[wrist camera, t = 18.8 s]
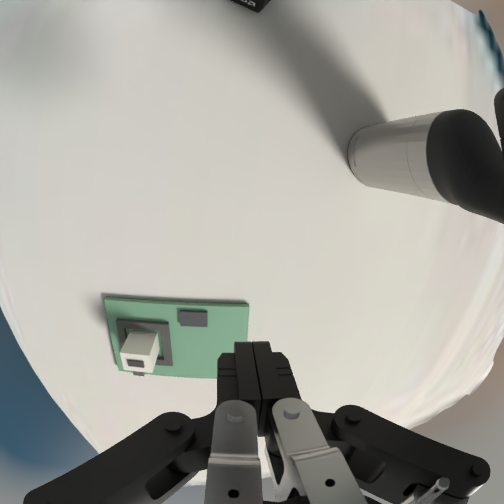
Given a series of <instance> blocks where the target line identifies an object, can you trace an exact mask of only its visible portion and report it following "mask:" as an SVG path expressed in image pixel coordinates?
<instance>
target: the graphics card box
mask: <svg viewBox="0 0 504 504" xmlns="http://www.w3.org/2000/svg"><path fill="white" fill-rule="evenodd" d="M231 1H233V2H236V3H238V4H240V5H243V6H245V7H247V8H249V9H251V10H254V11H256V12H260V11H261V10H262V9H263V8H264V7H265V6H266V4H267V3H268V2H269V1H270V0H231Z"/></svg>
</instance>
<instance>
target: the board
mask: <svg viewBox="0 0 504 504" xmlns="http://www.w3.org/2000/svg"><path fill="white" fill-rule="evenodd" d="M104 302H105V308H106V314H107V320H108V325H109V330H110V335H111V340H112V344H113V349H114V353H115V357H116V362H117V366H118V369H119V371H125V372H133V371H130V370H124V368H123V364H122V360H121V356H120V351H121V349H122V347H123V345H124V343H125V341H126V339H127V337H128V335H129V333H130V331H131V330H134V331H145V332H157V333H158V341H159V348H160V349H159V353H158V356H157V359H156V363H155V366H154V370H153V373H147V372H145V374H151V375H161V376H173V377H189V378H212V379H217V360H218V358H219V357H220V355H221V354H222V353H234V342H247V335H248V320H249V304H225V303H195V302H173V301H155V300H140V299H126V298H114V297H106V298H105V299H104Z"/></svg>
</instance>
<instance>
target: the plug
mask: <svg viewBox="0 0 504 504" xmlns="http://www.w3.org/2000/svg"><path fill="white" fill-rule="evenodd" d="M159 349H160V348H159V341H158V333H157V332H145V331H134V330H131V331H130V333H129V335H128V337H127V339H126V341H125V343H124V345H123V347H122V349H121V351H120V356H121V360H122V364H123V368H124V370H130V371H133V374H134V375H138V376H144V375H145V372H147V373H153V370H154V366H155V363H156V359H157V356H158V353H159Z"/></svg>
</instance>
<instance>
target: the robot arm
mask: <svg viewBox="0 0 504 504" xmlns="http://www.w3.org/2000/svg"><path fill="white" fill-rule="evenodd" d="M494 107H495V114H496V119H497V125H498V130H499V136H500V138H502V139H500V141H501V147H502V150H501V148H500V146H499V144H498V142H497V140H496V138H495V136H494V134H493V132H492V130H491V129H490V127H489V126H488V124H487V123H486V122H485V121H484V120H483V119H482V118H481V117H480V116H479V115H477V114H476V113H474V112H472V111H469V110H464V109H457V110H450V111H443V112H437V113H431V114H426V115H420V116H415V117H410V118H405V119H400V120H395V121H390V122H386V123H381V124H377V125H372V126H368V127H364V128H362V129H360V130H358V131H357V132H356V133H355V134H354V136H353V137H352V139H351V141H350V144H349V148H348V161H349V165H350V168H351V170H352V172H353V174H354V175H355V177H356V178H357V179H358V180H359V181H360V182H362V183H363V184H364V185H367V186H369V187H373V188H379V189H384V190H389V191H394V192H400V193H405V194H410V195H414V196H419V197H424V198H428V199H433V200H438V201H442V202H447V203H451V204H455V205H459V206H460V207H462V208H463V209H465V210H467V211H469V212H472V213H475V214H478V215H482V216H485V217H487V218H490V219H493V220H495V221H498V222H500V223H503V224H504V88H503V89H501V90H500V91H499V92H498V93H497V94H496V96H495V99H494ZM257 435H258V437H263V436H265V441H266V445H265V455H266V459H267V462H268V466H269V469H270V473H271V476H272V480H273V483H274V487H275V498H276V502H270V501H263V497H262V479H261V463H260V459H259V458H258V442H257ZM205 469H207V479H206V490H205V500H204V504H381V503H379V502H377V501H375V500H373V499H372V498H370V497H367V496H364V495H363V494H362V492H361V490H360V488H361V489H363V490H366V491H367V492H369V493H371V494H373V495H376V496H377V497H379V498H382V499H384V500H386V501H388V502H390V503H393V504H467V502H468V499H469V497H470V496H471V495H472V494H473V493H474V492H475V491H476V490H478V489H479V488H480V487H481V486H482V485H483V484H485V483H486V482H487V480H488V479H489V477H490V467H489V465H488V463H487V462H486V461H485V460H484V459H482V458H480V457H477V456H474V455H471V454H468V453H465V452H462V451H460V450H457V449H454V448H452V447H449V446H446V445H444V444H441V443H439V442H436V441H434V440H432V439H429V438H427V437H424V436H422V435H420V434H417V433H415V432H413V431H410V430H408V429H406V428H404V427H401V426H399V425H397V424H395V423H393V422H391V421H388V420H386V419H384V418H382V417H380V416H378V415H376V414H374V413H372V412H370V411H368V410H366V409H364V408H362V407H360V406H356V405H345V406H342V407H340V408H339V409H337V411H336V412H335V413H326V412H319V411H315V410H312V409H311V408H310V406H309V405H308V404H307V403H306V402H304V401H303V400H302V399H301V397H300V394H299V391H298V388H297V385H296V382H295V379H294V376H293V373H292V370H291V367H290V364H289V361H288V359H287V358H286V357H285V356H284V355H283V354H282V353H281V352H272V351H271V347H270V343H269V341H258V342H252V343H251V342H234V353H222V354H221V355H220V357H219V358H218V360H217V405H216V408H215V409H214V410H213V411H212V412H211V413H210V414H208V415H206V416H204V417H200V418H196V419H190V418H189V417H188V416H186V415H185V414H182V413H179V412H167V413H163V414H161V415H159V416H158V417H156V418H155V419H153V420H152V421H150V422H149V423H148V424H146V425H145V426H143V427H142V428H140V429H139V430H137V431H136V432H134V433H132V434H131V435H129V436H128V437H126V438H125V439H123V440H122V441H120V442H118V443H117V444H115V445H114V446H112V447H110V448H109V449H107V450H106V451H104V452H102V453H101V454H99V455H97V456H96V457H94V458H92V459H90V460H89V461H87V462H86V463H84V464H82V465H80V466H78V467H77V468H75V469H73V470H71V471H69V472H68V473H66V474H64V475H62V476H60V477H58V478H56V479H54V480H52V481H50V482H48V483H46V484H44V485H42V486H40V487H38V488H36V489H34V490H32V491H30V492H29V493H28V494H27V495H26V496H25V498H24V502H23V504H161V503H163V502H164V501H165V500H166V499H168V498H169V497H170V496H171V495H173V494H174V493H175V492H176V491H178V490H179V489H180V488H181V487H182V486H183V485H185V484H186V483H187V482H188V481H189V480H190V479H192V478H193V477H194V476H195V475H196V474H197V473H198V472H199V471H201V470H205Z"/></svg>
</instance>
